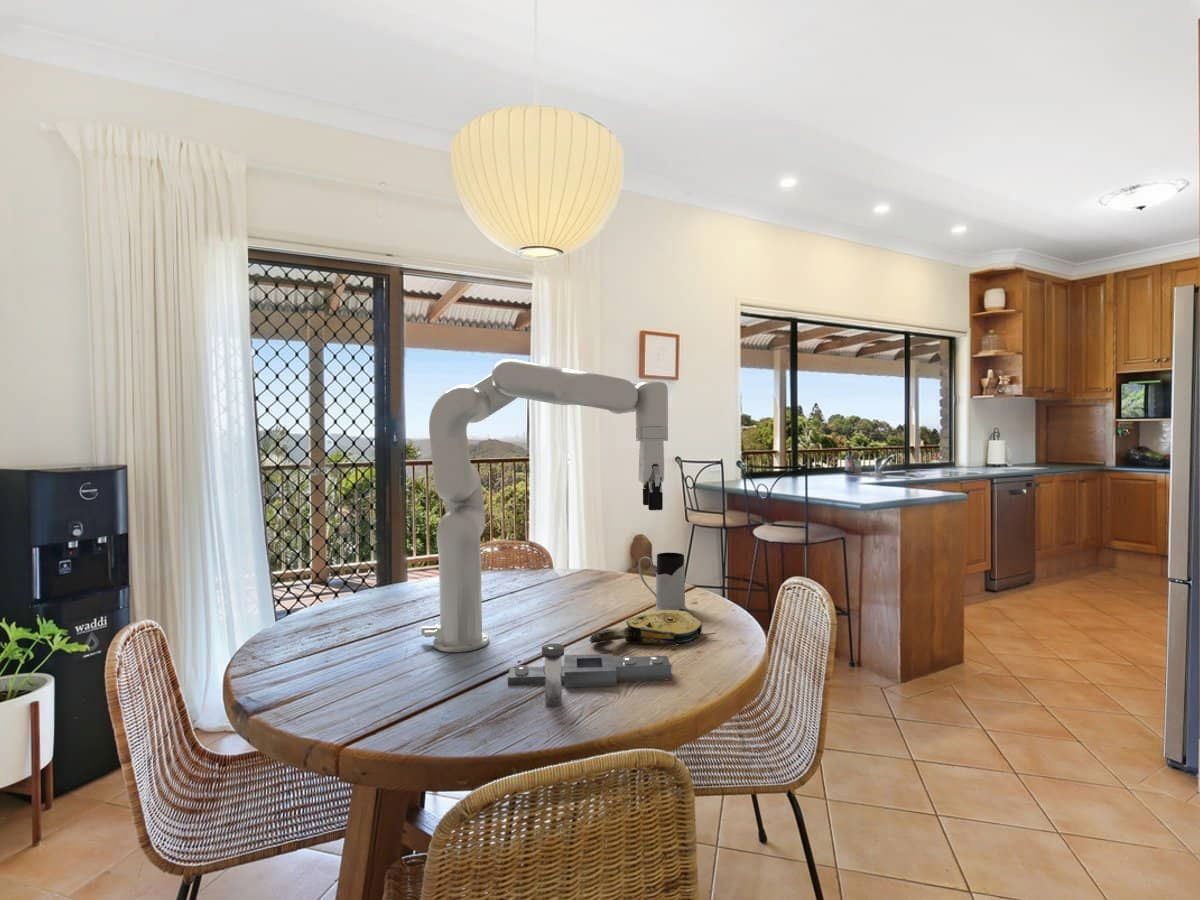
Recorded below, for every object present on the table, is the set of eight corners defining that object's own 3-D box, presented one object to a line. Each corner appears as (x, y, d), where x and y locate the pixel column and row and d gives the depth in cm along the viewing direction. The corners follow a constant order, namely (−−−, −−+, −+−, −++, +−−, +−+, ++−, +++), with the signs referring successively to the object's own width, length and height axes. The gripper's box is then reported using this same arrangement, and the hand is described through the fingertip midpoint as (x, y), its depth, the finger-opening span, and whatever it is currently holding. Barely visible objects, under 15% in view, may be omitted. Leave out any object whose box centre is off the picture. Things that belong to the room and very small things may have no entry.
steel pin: (542, 708, 109) (541, 651, 109) (542, 698, 113) (542, 643, 113) (564, 707, 109) (564, 650, 109) (564, 697, 113) (564, 643, 113)
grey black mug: (678, 615, 163) (678, 559, 163) (631, 607, 171) (631, 554, 170) (691, 607, 171) (691, 553, 170) (646, 600, 178) (645, 549, 178)
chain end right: (564, 687, 118) (564, 669, 118) (564, 669, 127) (564, 652, 127) (672, 684, 119) (672, 665, 119) (665, 666, 128) (665, 649, 128)
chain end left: (506, 689, 117) (506, 677, 117) (511, 671, 126) (510, 659, 126) (616, 686, 118) (616, 673, 118) (612, 668, 127) (612, 656, 127)
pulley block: (580, 611, 146) (690, 598, 156) (579, 634, 147) (689, 620, 158) (601, 639, 133) (720, 623, 144) (600, 664, 134) (718, 646, 145)
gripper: (632, 434, 152) (632, 503, 153) (640, 435, 135) (641, 512, 135) (661, 434, 153) (662, 503, 153) (674, 434, 135) (674, 512, 136)
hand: (652, 507), depth 144 cm, fingers open, 9 cm apart
